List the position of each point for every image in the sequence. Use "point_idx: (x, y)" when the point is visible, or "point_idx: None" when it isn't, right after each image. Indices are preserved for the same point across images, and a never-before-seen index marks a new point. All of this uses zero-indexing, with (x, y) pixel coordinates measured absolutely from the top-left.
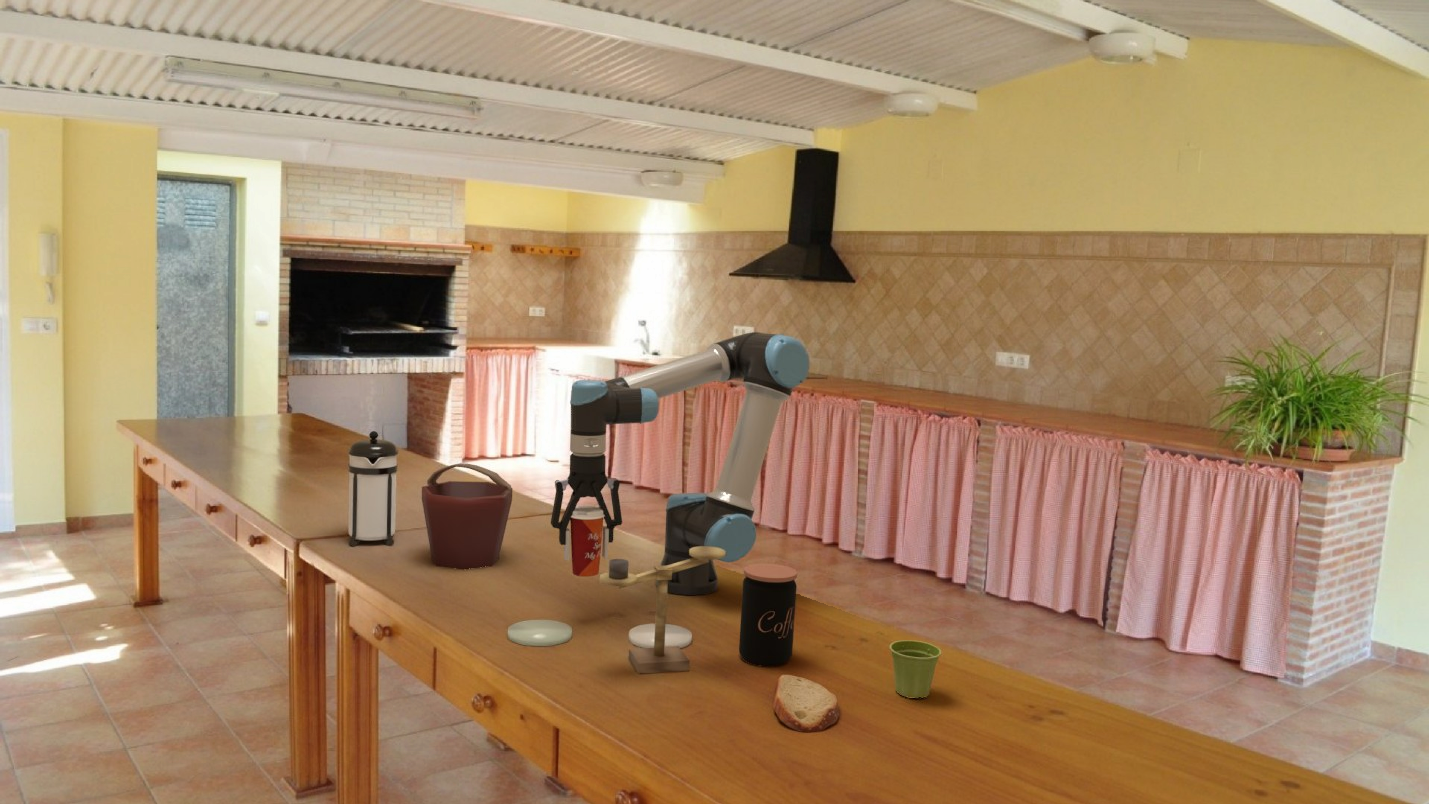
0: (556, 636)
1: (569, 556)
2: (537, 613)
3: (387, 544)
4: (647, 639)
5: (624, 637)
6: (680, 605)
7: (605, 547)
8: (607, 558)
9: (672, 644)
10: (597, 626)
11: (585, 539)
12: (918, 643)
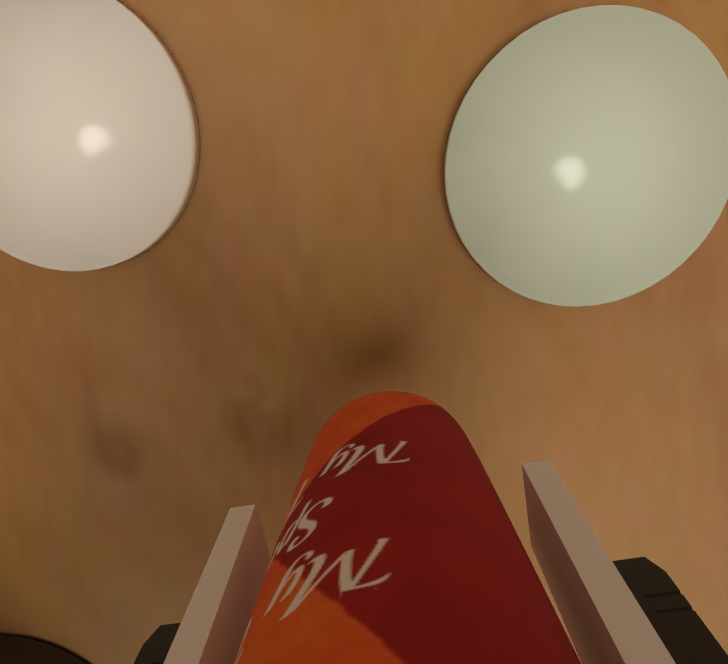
0: (520, 72)
1: (531, 483)
2: (570, 440)
3: None
4: (102, 43)
5: (218, 155)
6: (26, 536)
7: (229, 566)
8: (234, 508)
9: None
10: (333, 292)
11: (419, 536)
12: None
